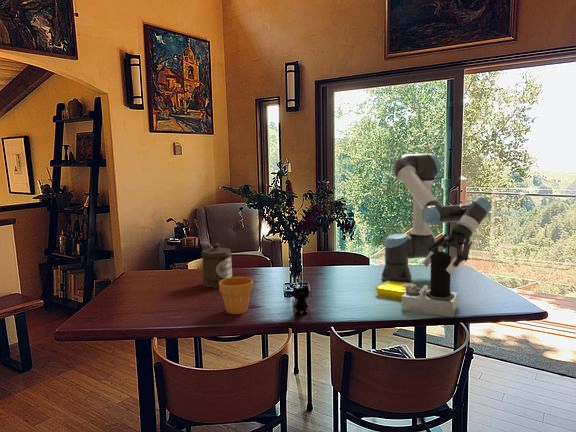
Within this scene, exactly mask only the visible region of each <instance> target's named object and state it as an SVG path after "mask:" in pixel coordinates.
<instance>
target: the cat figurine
mask: <svg viewBox="0 0 576 432" xmlns="http://www.w3.org/2000/svg"><path fill="white" fill-rule="evenodd" d="M292 289H293V291H292V294H293V297H294V298H295V299H296V300H297V301H296V303H294V308H295V310H296V312H295V315H296V316H299V317H300V316H307V315H308V314H309V313H308V312H307V308H309V305H308V303H307V302H306V299H307V298H308V297H309V295H310V292H309V291H310V289H309V285H307V286H305V288H304V287H299V288H297V287H296V286H293V288H292ZM301 312H302V313H301Z"/></svg>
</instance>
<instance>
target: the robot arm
mask: <svg viewBox="0 0 576 432" xmlns="http://www.w3.org/2000/svg"><path fill="white" fill-rule="evenodd" d="M393 166H394V167H393V173H394V176H395V177H396V179H397V180H398V182H400V183H402V184H403V185H404V187H405V188H406V189H407V190H408V192H409V193H410V195H411V196H412V198H413V204H412V207H413V208H412V210H413V211H412V229H411V230H410V231H409V233H408V234H409V235H408V234H407V233H395V234H389V235H388V236H386V238H385V239H384V240H385V241H384V267H383V269H382V273H381V280H382V281H384V282H386V281H396V282H404V283H410V282H411V281H412V273H411V270H410V267H409V259H420V258H421V259H424V260H423V261H422V265H423V266H424V267H426V268H428V266H429V265H431V258H430V256H431V255H432V254H433V253H435V252H438V247H439V246H442V247H443V250H445V249H447V248H454V249H455V250H456V256H455V257H453V259H451V263H450V265H449V266H448V267H447V269H446V270H447V271H448V273H449V274H450V275H452V274H453V272H455V269H456V268H458V267H459V265H460V264H461V262H464V261H465V262H467V261H468V260H469V255H470V248H471V246H472V244H473V242H472V240H471V239H470V238H471V237H472V235H473V234H474V233H475V231H476V230H477V228H478V227H479V225H480V224H481V223H482V222H483V220H484V219H485V218H486V216H487V215H488V214H489V211H490V210H491V208H492V203H491V201H489V200H488V199H487V198H485V197H483V196H477V197H475V198H474V199H473V200H472V202H470V203H463V204H450V205H448V204H446V205H442V204H441V203H440V202H439V201H438V199H437V198H436V197H435V195H434V194H433V193H432V187H433V186H432V184H433V183H434V182H435V181H436V177H437V176H439V175H440V173H441V162H440V160H439V158H438V156H436V155H435V154H434V153H406V154H403V155H401V156H400V157H398V159H397V160H395V163H394V165H393ZM443 223H444V224H445V223H456V224H455V225H454V227H453V228H452V229H451V234H449V235H448V234H447V233H444V234H443V235H442V236H441V237H440V238H439V239H437V238H436V236H435V235H433V231H432V230H431V229H430V228H431V224H433V225H435V224H443Z"/></svg>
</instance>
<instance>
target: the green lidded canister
mask: <svg viewBox="0 0 576 432" xmlns="http://www.w3.org/2000/svg"><path fill="white" fill-rule="evenodd" d="M212 246H213V247H212V248H211V247H209V248H205V249H204V250H202V276H203V277H202V279H203V286H204V287H205V286H206V288H208V287H214V288H213V289H219V288H218V287H219V282H220V281H221V280H223V279H226V278H231V277H233V266H232V250H231V248H229V247H220V243H219V242H215V243H213V244H212Z"/></svg>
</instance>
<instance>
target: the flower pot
mask: <svg viewBox="0 0 576 432" xmlns="http://www.w3.org/2000/svg"><path fill="white" fill-rule="evenodd" d="M253 280H254V279H252V278H251V277H246V276H234V277H233V276H232V277H231V278H226V279H223V280H221V281H220V282H219V288H218V289H219V292H220V293H221V294H222V298H223V303H224V307H225V310H226V313H228V314H230V315H241V314H245V313H246V312H248V310H249V303H250V297H251V292H252V291H253V289H254V281H253Z"/></svg>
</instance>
